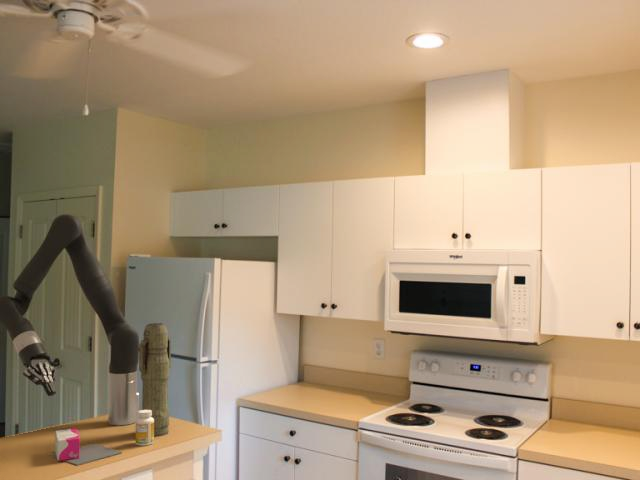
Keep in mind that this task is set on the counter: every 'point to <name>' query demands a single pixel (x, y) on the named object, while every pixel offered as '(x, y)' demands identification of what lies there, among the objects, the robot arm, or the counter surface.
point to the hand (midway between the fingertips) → (52, 394)
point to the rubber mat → (91, 454)
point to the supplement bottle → (144, 428)
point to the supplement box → (67, 444)
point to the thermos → (155, 374)
